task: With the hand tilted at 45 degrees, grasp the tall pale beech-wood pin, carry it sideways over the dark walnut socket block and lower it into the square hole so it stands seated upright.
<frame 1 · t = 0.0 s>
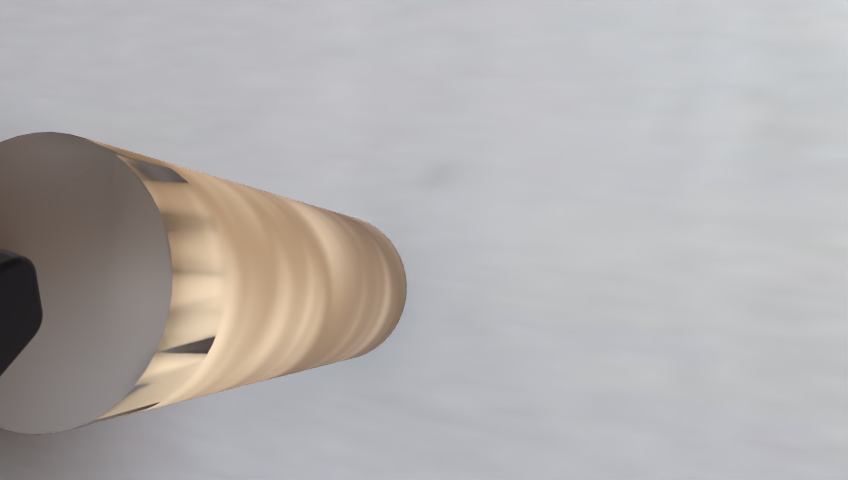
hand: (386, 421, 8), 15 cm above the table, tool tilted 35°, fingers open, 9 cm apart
beech pin: (337, 287, 24), on the table
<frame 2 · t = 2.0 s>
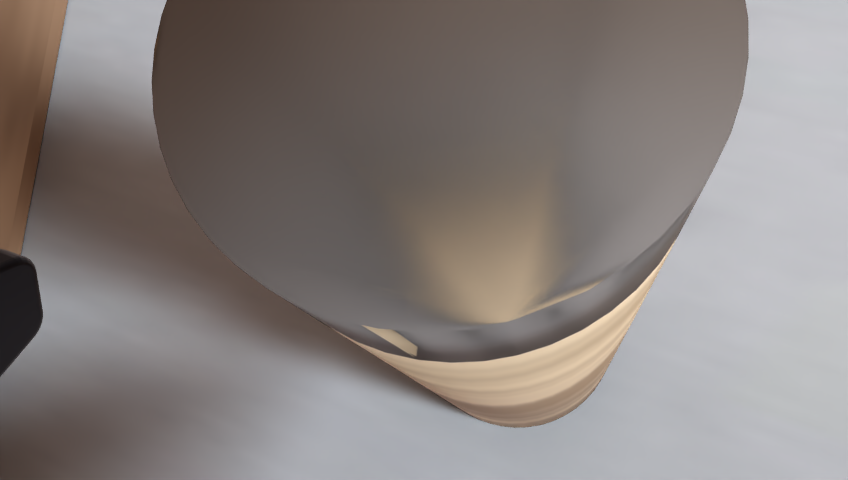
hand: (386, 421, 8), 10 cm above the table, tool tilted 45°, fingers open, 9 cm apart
beech pin: (515, 329, 18), on the table
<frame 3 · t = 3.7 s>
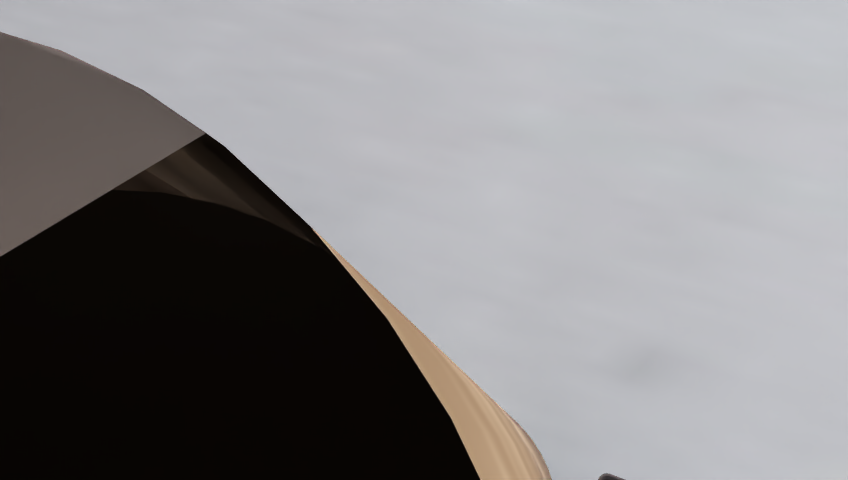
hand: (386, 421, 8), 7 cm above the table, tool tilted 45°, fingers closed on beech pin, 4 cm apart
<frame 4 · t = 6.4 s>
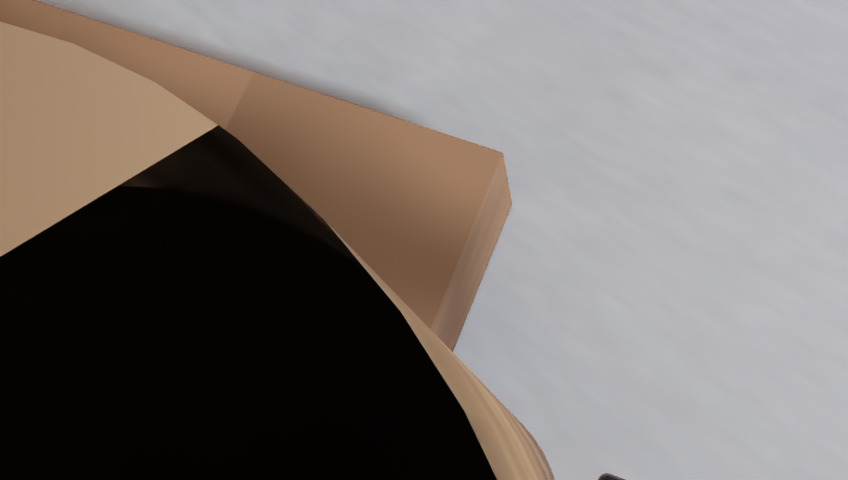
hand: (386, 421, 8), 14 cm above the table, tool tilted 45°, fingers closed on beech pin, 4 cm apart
socket block: (74, 398, 23), on the table
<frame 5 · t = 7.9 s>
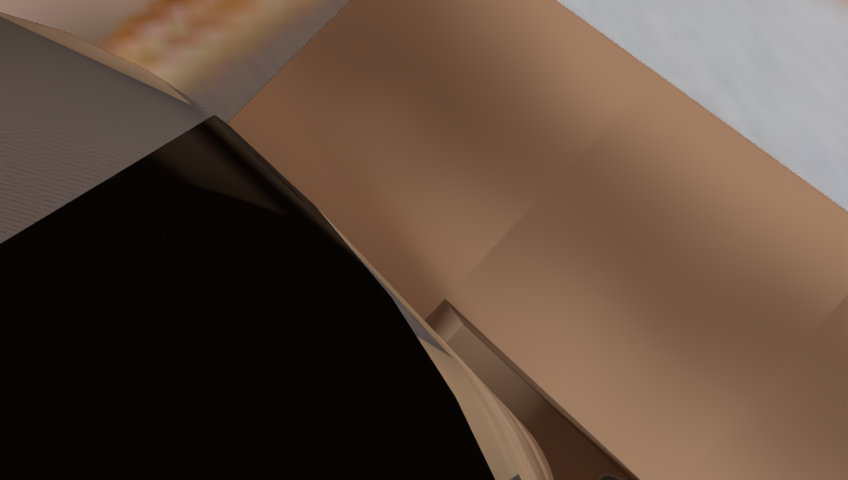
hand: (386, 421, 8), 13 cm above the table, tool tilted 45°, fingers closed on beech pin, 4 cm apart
when the fingers open (8 cm above the table, at t = 9.2 s): beech pin stays where it is, resting on socket block.
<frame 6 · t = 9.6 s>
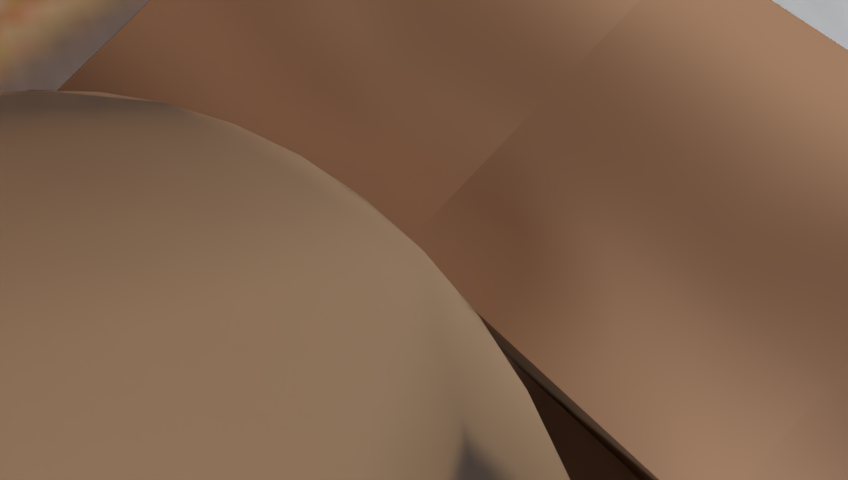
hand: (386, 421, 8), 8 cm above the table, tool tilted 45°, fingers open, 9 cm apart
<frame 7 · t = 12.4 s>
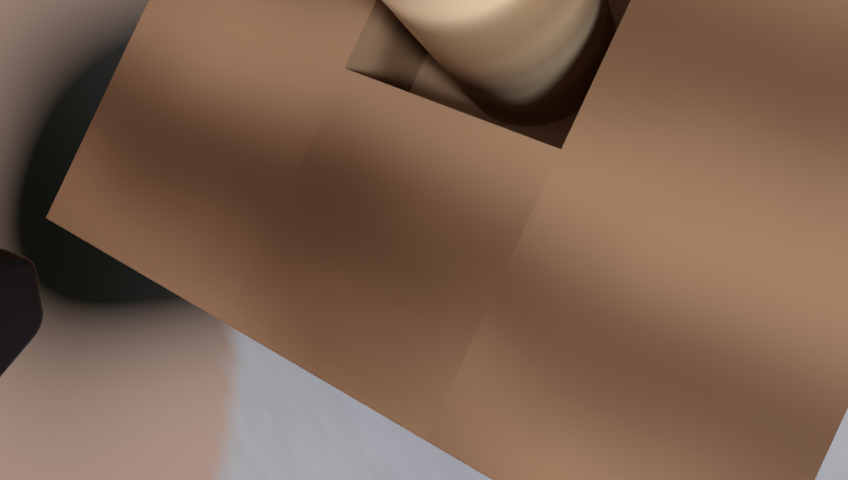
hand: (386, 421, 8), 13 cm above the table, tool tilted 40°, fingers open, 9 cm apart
beech pin: (535, 49, 22), resting on socket block
socket block: (538, 57, 22), on the table
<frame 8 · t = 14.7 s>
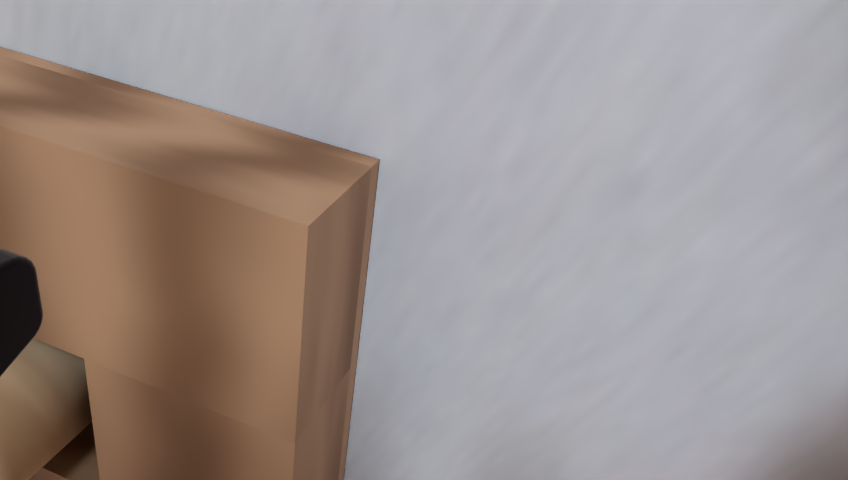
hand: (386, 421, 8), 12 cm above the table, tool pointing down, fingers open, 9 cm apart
beech pin: (92, 337, 28), resting on socket block
socket block: (102, 329, 29), on the table
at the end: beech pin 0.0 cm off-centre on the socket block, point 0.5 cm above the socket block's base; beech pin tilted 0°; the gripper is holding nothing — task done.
